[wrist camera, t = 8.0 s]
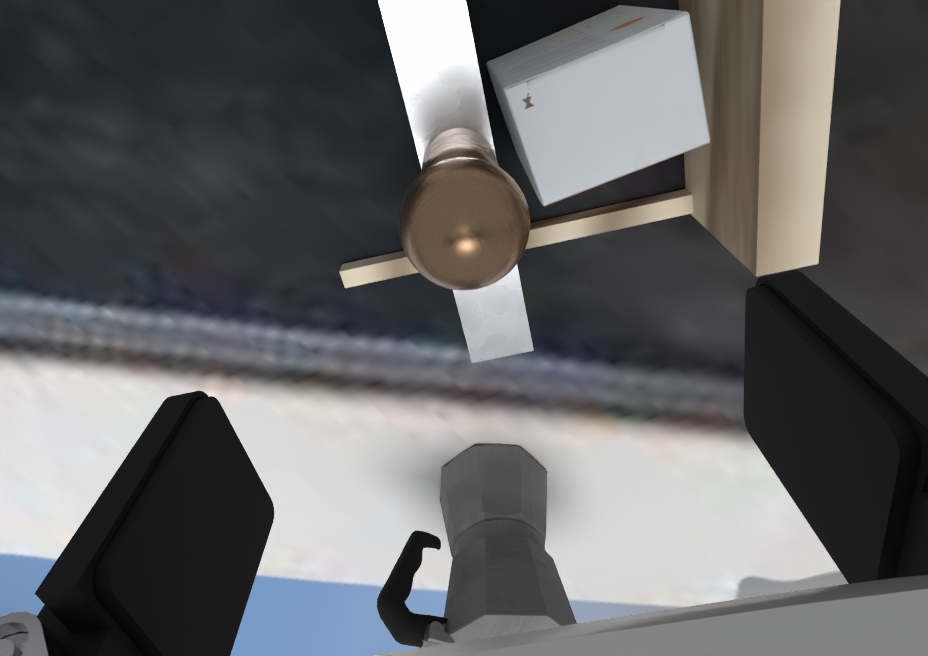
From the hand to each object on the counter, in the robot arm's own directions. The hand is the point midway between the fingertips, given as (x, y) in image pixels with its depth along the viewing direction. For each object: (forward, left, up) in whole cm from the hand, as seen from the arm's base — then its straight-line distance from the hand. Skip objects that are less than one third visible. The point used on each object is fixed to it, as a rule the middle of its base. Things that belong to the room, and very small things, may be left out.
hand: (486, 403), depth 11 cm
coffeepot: (+5, +29, -28) cm, 41 cm away
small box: (-6, 0, -28) cm, 29 cm away
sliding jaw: (0, 0, -27) cm, 27 cm away
